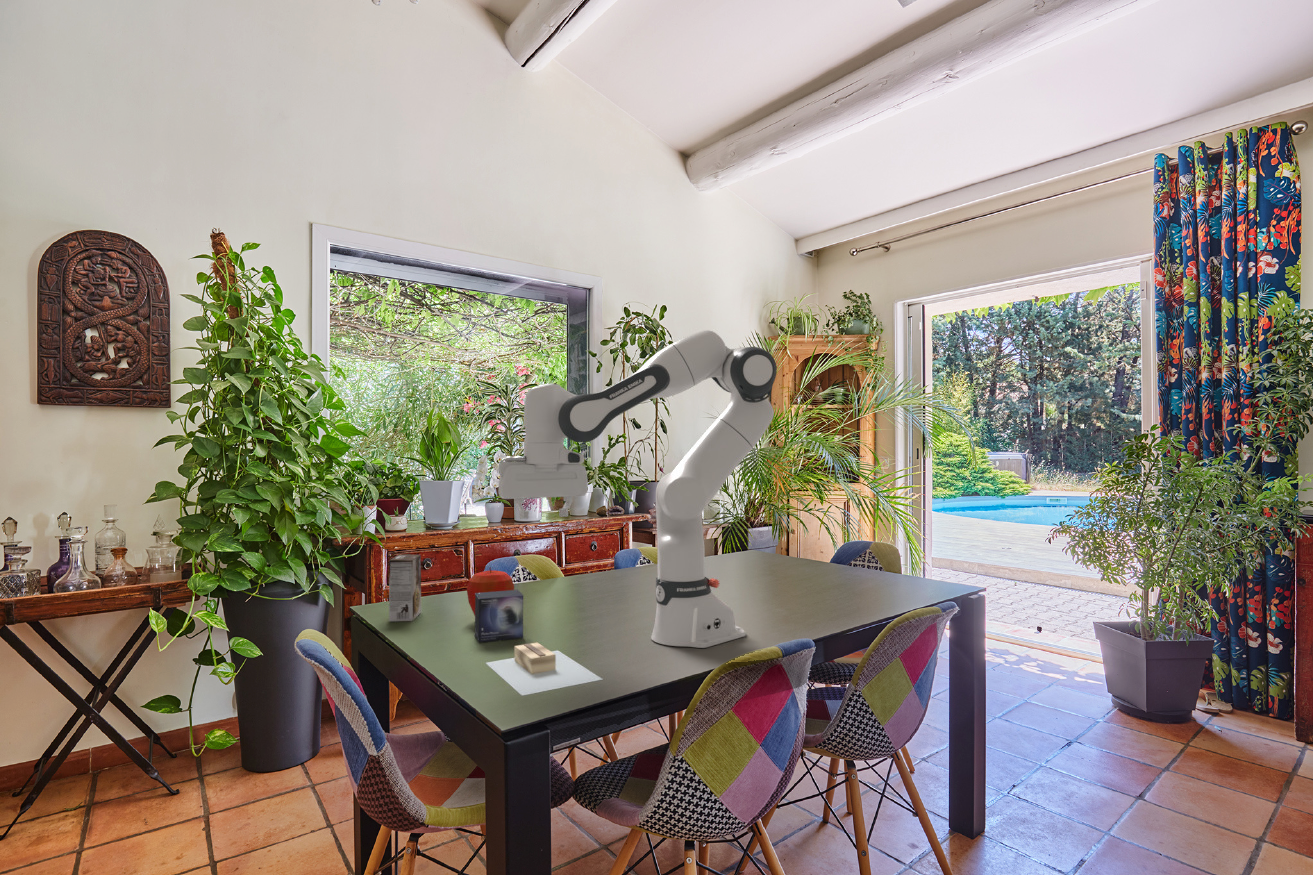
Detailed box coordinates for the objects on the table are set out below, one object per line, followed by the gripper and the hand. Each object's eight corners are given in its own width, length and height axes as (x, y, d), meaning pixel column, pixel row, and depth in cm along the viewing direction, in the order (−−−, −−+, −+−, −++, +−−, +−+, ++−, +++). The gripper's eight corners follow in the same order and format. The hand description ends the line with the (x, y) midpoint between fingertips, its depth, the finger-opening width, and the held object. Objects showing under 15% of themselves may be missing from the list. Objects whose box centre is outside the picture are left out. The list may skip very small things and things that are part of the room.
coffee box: (397, 613, 185) (397, 554, 185) (421, 612, 185) (421, 553, 186) (388, 621, 176) (387, 559, 176) (413, 621, 176) (413, 559, 177)
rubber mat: (557, 653, 147) (557, 650, 147) (602, 682, 128) (602, 679, 128) (485, 665, 139) (485, 662, 139) (522, 698, 120) (522, 695, 120)
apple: (515, 625, 171) (514, 569, 171) (465, 629, 168) (465, 572, 168) (513, 614, 183) (513, 562, 183) (468, 617, 180) (467, 564, 180)
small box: (478, 644, 155) (478, 598, 155) (474, 636, 161) (473, 592, 161) (524, 638, 159) (524, 593, 159) (518, 631, 165) (518, 588, 165)
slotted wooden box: (555, 669, 134) (555, 653, 134) (531, 674, 132) (531, 657, 132) (537, 656, 143) (537, 641, 143) (514, 660, 140) (514, 645, 140)
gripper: (503, 456, 144) (503, 521, 143) (590, 455, 154) (590, 516, 154) (494, 456, 149) (494, 519, 149) (579, 455, 160) (579, 514, 159)
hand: (544, 517), depth 152 cm, fingers open, 8 cm apart
